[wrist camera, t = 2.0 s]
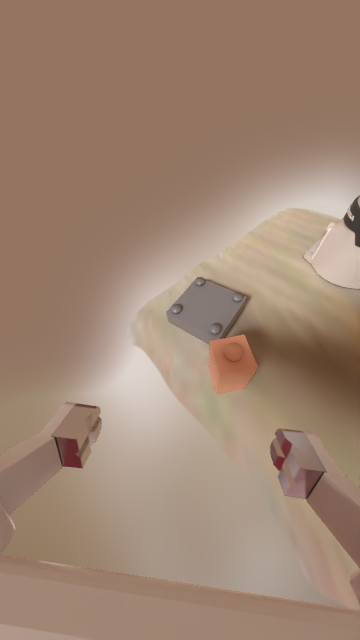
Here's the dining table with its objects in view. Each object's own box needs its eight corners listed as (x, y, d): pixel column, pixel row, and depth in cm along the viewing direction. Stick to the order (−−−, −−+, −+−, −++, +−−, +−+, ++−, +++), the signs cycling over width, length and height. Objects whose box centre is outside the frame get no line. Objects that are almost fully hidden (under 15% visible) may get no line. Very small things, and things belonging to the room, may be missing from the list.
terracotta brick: (208, 366, 35) (210, 338, 26) (234, 361, 35) (245, 331, 26) (215, 394, 32) (220, 372, 23) (244, 388, 32) (259, 365, 23)
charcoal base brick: (198, 288, 47) (197, 274, 43) (243, 308, 42) (247, 294, 38) (169, 323, 42) (165, 309, 38) (216, 349, 37) (218, 337, 33)
